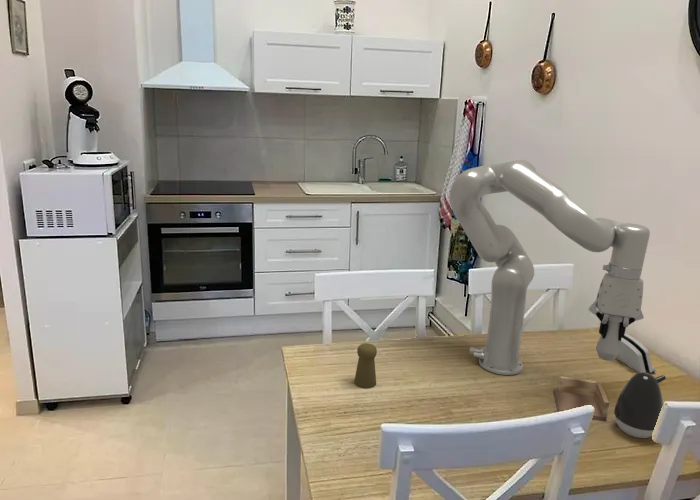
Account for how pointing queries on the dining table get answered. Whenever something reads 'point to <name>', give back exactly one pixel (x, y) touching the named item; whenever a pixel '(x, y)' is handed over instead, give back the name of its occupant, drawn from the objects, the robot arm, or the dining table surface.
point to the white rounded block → (635, 355)
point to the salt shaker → (610, 340)
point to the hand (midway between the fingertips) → (610, 337)
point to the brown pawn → (366, 366)
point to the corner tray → (581, 396)
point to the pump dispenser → (639, 405)
